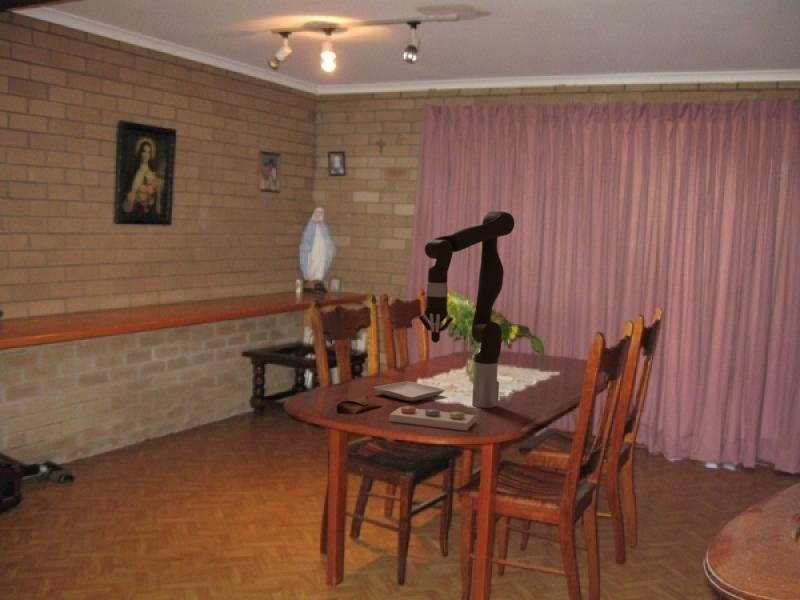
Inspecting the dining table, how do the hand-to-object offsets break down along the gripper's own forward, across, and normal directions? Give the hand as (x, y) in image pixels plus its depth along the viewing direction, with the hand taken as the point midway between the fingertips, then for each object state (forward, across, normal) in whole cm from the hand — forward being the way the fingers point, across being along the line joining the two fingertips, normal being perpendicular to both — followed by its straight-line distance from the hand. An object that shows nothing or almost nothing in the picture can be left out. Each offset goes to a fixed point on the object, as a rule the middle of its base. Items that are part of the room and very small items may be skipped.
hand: (435, 342), depth 286 cm
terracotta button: (+27, +6, +10) cm, 29 cm away
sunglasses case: (+28, +27, +4) cm, 39 cm away
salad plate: (+28, +18, -26) cm, 42 cm away
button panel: (+27, -3, +10) cm, 29 cm away
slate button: (+27, -3, +10) cm, 29 cm away
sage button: (+27, -12, +10) cm, 31 cm away
